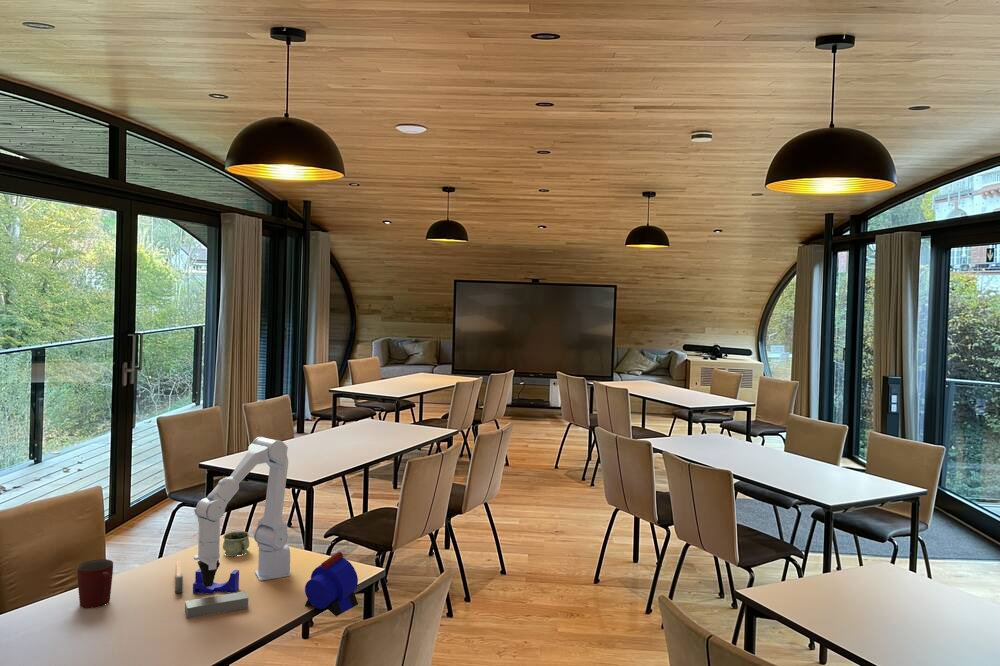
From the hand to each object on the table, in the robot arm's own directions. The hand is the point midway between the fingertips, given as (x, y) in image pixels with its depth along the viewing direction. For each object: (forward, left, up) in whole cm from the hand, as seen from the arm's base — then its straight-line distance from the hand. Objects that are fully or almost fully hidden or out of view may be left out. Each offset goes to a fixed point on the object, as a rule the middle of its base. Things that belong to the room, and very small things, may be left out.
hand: (208, 585), depth 210 cm
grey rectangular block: (-1, +9, -4) cm, 10 cm away
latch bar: (+6, -14, -3) cm, 16 cm away
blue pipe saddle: (-3, -4, -4) cm, 7 cm away
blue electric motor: (-30, +20, -4) cm, 36 cm away
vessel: (-14, -34, -4) cm, 37 cm away
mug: (+28, -8, -4) cm, 29 cm away
